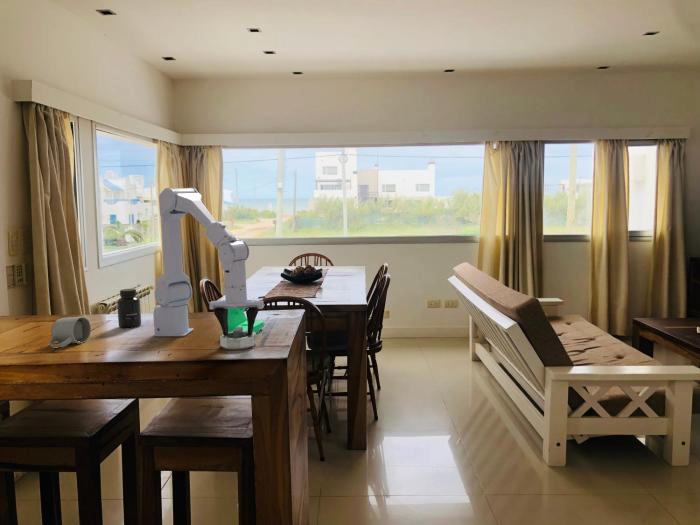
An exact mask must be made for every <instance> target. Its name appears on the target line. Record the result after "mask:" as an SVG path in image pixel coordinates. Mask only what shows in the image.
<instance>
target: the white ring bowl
mask: <svg viewBox="0 0 700 525" xmlns="http://www.w3.org/2000/svg"><path fill="white" fill-rule="evenodd" d="M219 339H220V340H219V341H220V342H219V343H220V346H221V347H222V349H224V350H227V351H242V350H247V349H252V348H253V347H255V346H256V343H257V334H256V333H255V332H253V334H252V335H248V331H243V337H242V338H234V337H233V331H232V332H228V334H227V335H224V334H223V333H222V335H220V336H219Z"/></svg>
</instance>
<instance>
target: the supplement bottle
mask: <svg viewBox="0 0 700 525" xmlns="http://www.w3.org/2000/svg"><path fill="white" fill-rule="evenodd" d="M119 296H120V298H119V299H118V300H117V302H116V306H117V319H118V320H117V321H118V327H119V328H120V329H126V328H129V329H134V328H135V327H136V328H139V327H141V325H142V315H141V314H142V311H141V309H142V308H141V300H140V298H139V297H138V296H137V289H136V288H123V289H120V290H119ZM126 330H127V329H126Z"/></svg>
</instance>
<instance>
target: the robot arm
mask: <svg viewBox="0 0 700 525" xmlns="http://www.w3.org/2000/svg"><path fill="white" fill-rule="evenodd" d="M202 198H203V196H202V194H200V193H199V191H198V190H197V189H196V188H195V187H179V188H178V187H177V188H176V187H173V188H172V187H171V188H170V187H165V188H164V189H163V190H162V191H161V192H160V193H159V195H158V201H159V202H158V205H159V206H158V207H159V216H160V227H161V228H160V229H161V243H162V244H161V246H162V247H161V248H162V259H163V260H162V261H163V273H162V274H161V275H160V276H159V277H158V278H157V279H156V280H155V290H154V298H155V301H156V302H157V303H158V305H155V306H154V309H153V328H154V334H153V337H185V336H186V335H188V334H189V333H191V332H192V331H194V330H195V329H194V328H193V327H189V312H188V303H190V300H191V298H192V297H193V287H192V285H191V282H190V280H191V279H190V276H188V274H186V273H184V272H183V270H184V269H183V255H182V254H183V253H182V252H183V251H182V248H183V247H182V234H181V233H182V232H181V231H182V230H181V220H182V218H184V216H185V215H187V214H188V213H189V214H190V215H192V217H193V218H194V219H195V220H196V221H197V222H198V223H199V224H200V225H201V226H202V227H203V228H204V229H205V234H204V235H205V236H206V238H207V240H209V241H210V242H211V243H212V245H213V246H214V247H215V248H216V249H217V251H218V252H217V256H218V259H219V260H220V262H221V268H222V270H223V278H224V294H225V295H224V296H225V299H224V300H223V299H222V300H212V301H209V303H208V304H209V310H214V311H213V315H214V316H215V318H216V319H217V321H218V323H219V325H220V327H221V330H222V335H223V334H224V335H227V334H228V309H245V310H246V311H245V316H246V319H247V322H248V335H252V334H253V326H254V322H255V321H256V319H257V315H258V313H259V311H260V310H262V309H263V308H264V300H257V299H256V300H255V299H248V297H247V296H248V294H247V274H246V261H247V260H248V258H249V255H250V248H249V246H248V244H247V243H246V241H245V240H243V239H239V238H236V236H235V235H234V234H233V233H232V232H231V231H230V230H229V229H228V228H227V225H226V224H225V222H222V221H216V219H215V218H214V216H213V215H212V214H211V213H210V212H209V210H208V208H207V207H206V206H205V204H204V203H203V201H202Z"/></svg>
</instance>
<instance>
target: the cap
mask: <svg viewBox="0 0 700 525" xmlns="http://www.w3.org/2000/svg"><path fill="white" fill-rule="evenodd" d="M233 337H234V338H242V337H243V327H237V328H236V329H235V330H233Z"/></svg>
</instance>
